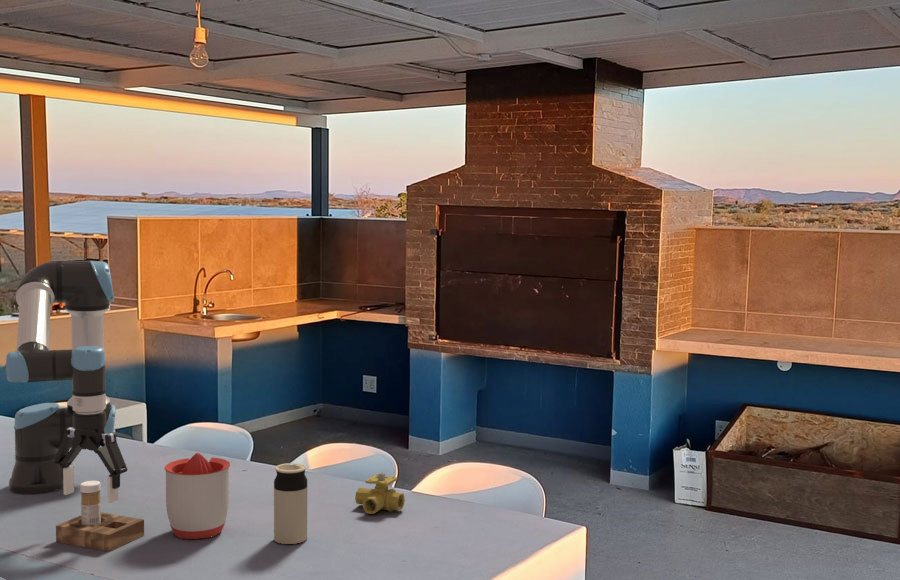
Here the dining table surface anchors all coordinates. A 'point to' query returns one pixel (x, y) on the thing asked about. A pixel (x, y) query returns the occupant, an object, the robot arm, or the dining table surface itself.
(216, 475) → the citrus juicer
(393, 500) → the ball valve
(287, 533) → the travel mug
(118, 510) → the dining table surface
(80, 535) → the socket block
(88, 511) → the sprinkles bottle
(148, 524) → the dining table surface
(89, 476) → the dining table surface
